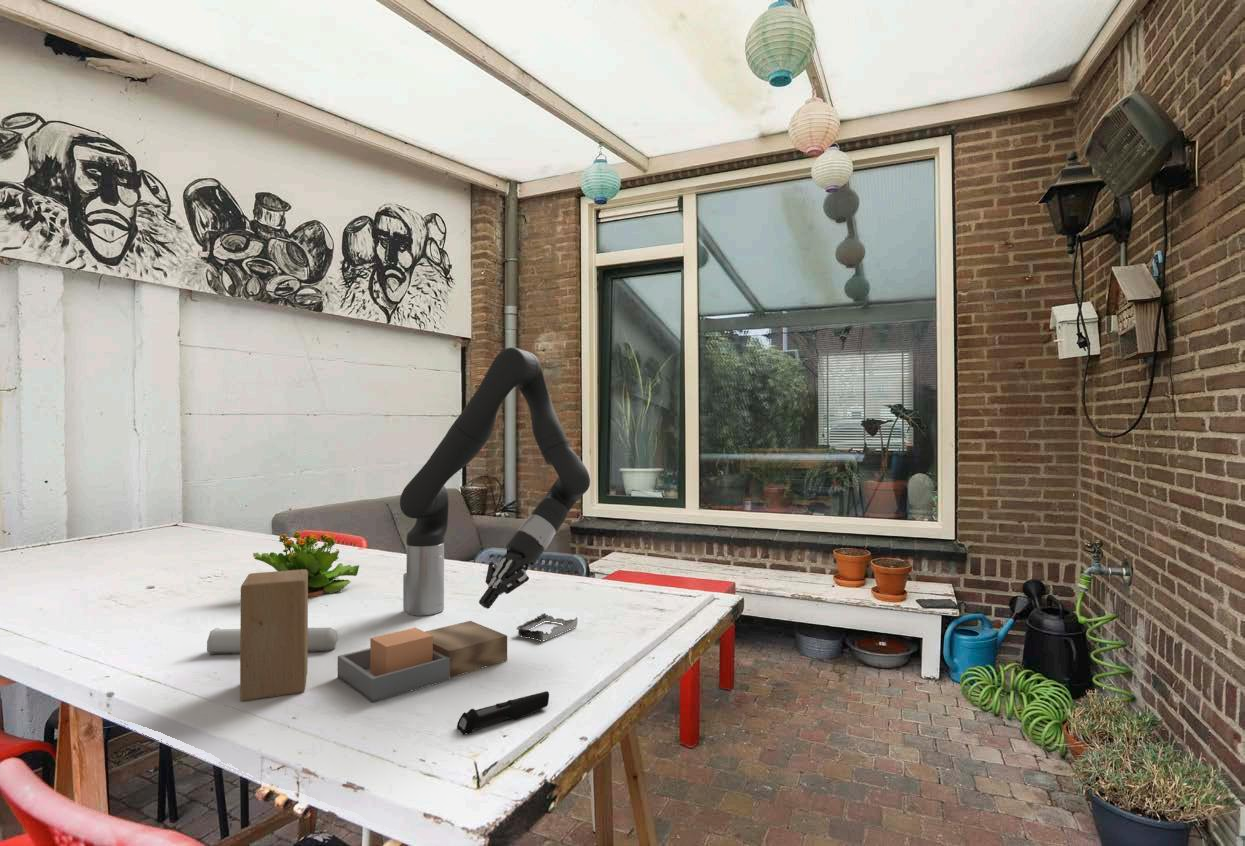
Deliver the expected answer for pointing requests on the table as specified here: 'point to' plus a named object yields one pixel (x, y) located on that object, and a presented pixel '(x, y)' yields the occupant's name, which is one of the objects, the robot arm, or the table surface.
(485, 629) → the square wooden plinth
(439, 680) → the box
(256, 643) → the wooden block
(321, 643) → the tube
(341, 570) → the potted flower
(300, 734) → the table surface
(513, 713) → the electric trimmer
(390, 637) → the terracotta block
